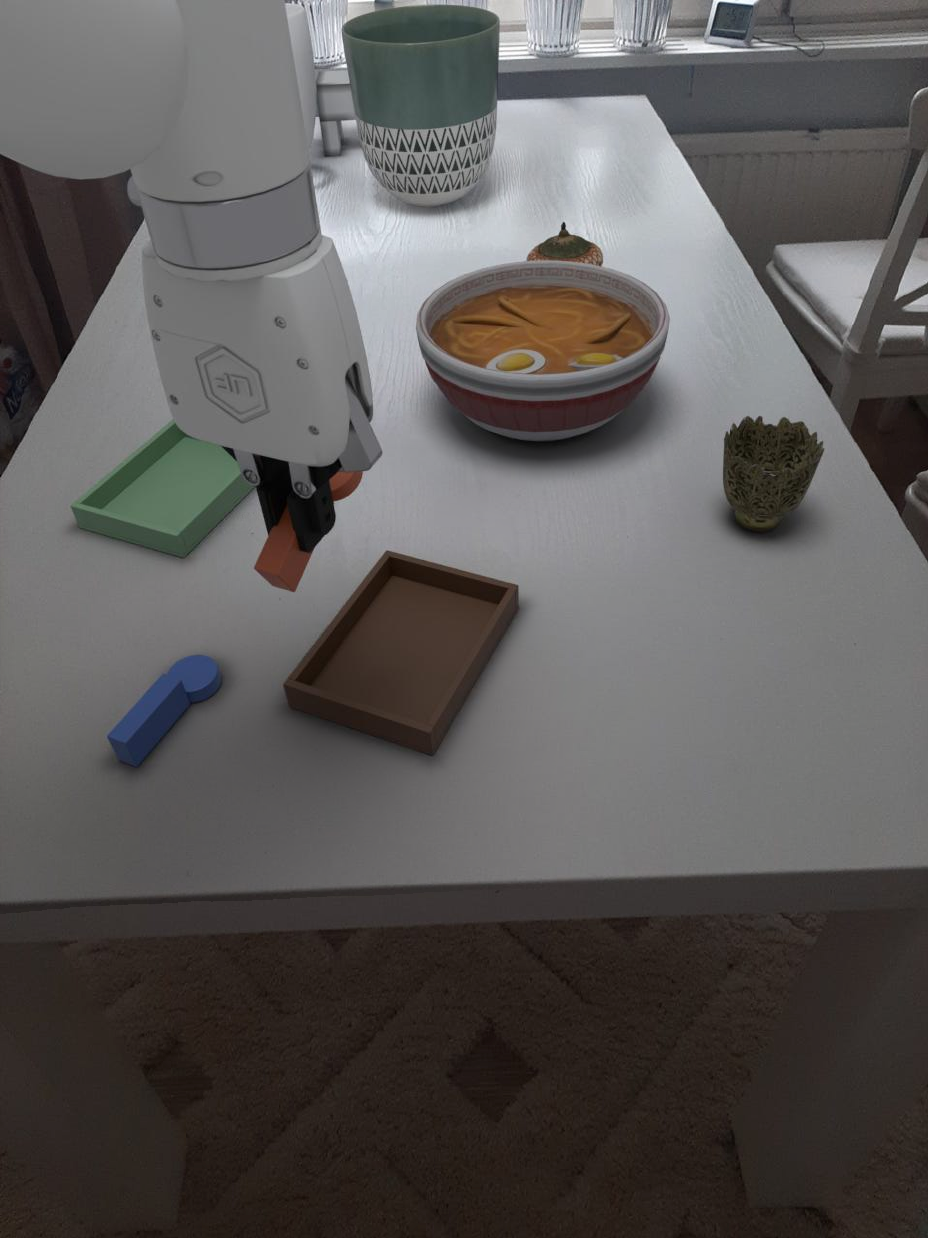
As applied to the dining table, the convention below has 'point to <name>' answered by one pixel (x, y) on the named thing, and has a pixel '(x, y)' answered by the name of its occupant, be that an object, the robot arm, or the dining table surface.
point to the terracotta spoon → (295, 541)
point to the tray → (404, 650)
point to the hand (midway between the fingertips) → (303, 532)
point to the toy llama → (337, 101)
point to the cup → (303, 66)
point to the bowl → (542, 345)
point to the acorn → (567, 249)
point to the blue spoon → (163, 707)
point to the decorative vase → (768, 469)
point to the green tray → (164, 493)
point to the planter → (425, 97)
